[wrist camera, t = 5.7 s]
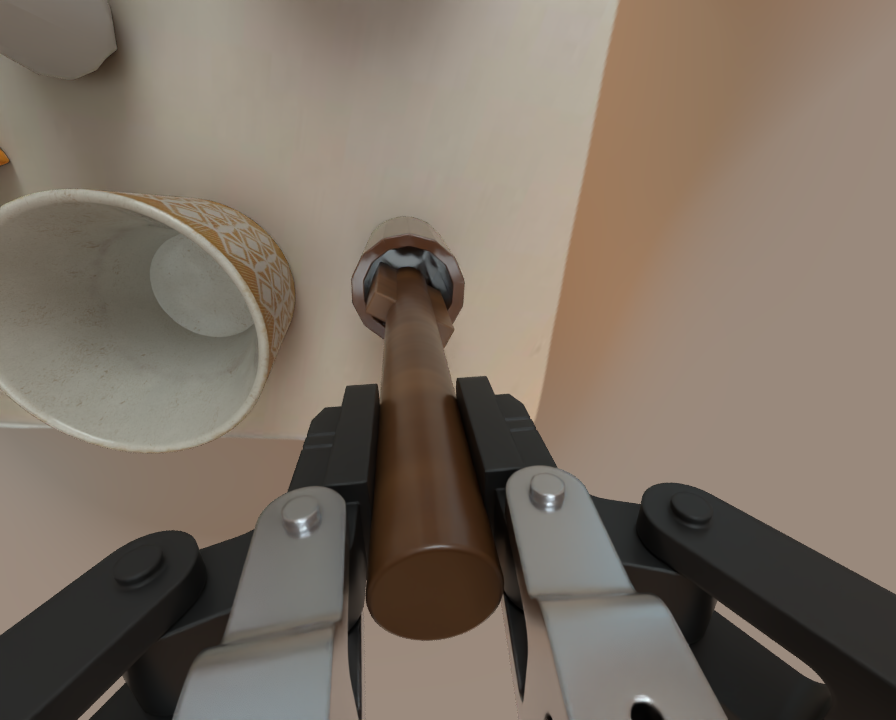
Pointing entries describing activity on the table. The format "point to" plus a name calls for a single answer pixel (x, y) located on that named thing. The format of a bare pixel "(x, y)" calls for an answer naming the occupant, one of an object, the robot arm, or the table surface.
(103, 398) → the planter
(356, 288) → the crock
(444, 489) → the cooking stick
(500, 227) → the table surface
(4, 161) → the supplement box
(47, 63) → the salt shaker
